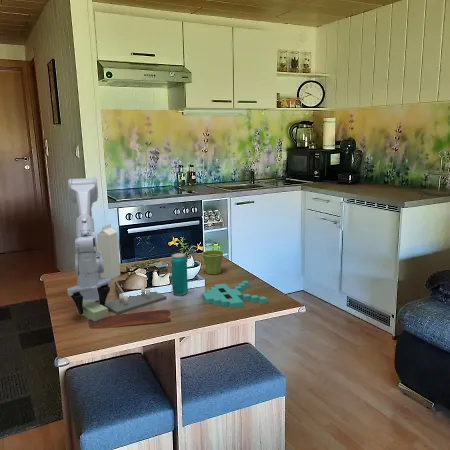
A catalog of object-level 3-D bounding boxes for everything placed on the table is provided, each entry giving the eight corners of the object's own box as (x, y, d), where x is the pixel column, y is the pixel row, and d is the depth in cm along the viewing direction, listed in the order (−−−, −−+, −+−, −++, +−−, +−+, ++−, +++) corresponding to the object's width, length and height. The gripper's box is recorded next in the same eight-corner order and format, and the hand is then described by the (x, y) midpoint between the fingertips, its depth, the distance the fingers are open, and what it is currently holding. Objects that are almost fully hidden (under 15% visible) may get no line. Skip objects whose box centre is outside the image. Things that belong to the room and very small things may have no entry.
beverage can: (183, 289, 174) (182, 252, 171) (190, 294, 169) (189, 255, 166) (169, 292, 171) (168, 254, 168) (176, 297, 166) (175, 258, 163)
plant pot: (208, 277, 187) (208, 257, 185) (198, 271, 195) (198, 252, 194) (228, 273, 192) (227, 254, 190) (217, 268, 200) (217, 249, 198)
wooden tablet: (169, 312, 155) (169, 307, 154) (171, 324, 145) (171, 319, 145) (89, 319, 150) (88, 314, 150) (85, 332, 141) (85, 327, 140)
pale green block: (77, 312, 155) (76, 303, 154) (90, 308, 158) (90, 298, 157) (94, 322, 146) (93, 312, 145) (108, 318, 150) (107, 308, 149)
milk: (100, 278, 189) (95, 226, 185) (108, 273, 195) (104, 223, 190) (112, 279, 187) (108, 227, 182) (120, 274, 193) (116, 224, 188)
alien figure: (246, 286, 178) (197, 292, 172) (246, 280, 177) (197, 287, 171) (266, 304, 159) (212, 312, 153) (266, 298, 159) (212, 306, 153)
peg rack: (102, 306, 159) (102, 295, 158) (151, 292, 172) (150, 282, 171) (117, 314, 152) (116, 303, 151) (166, 299, 165) (165, 288, 164)
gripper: (72, 279, 141) (76, 320, 144) (114, 269, 151) (117, 307, 154) (63, 274, 146) (66, 313, 149) (104, 264, 156) (107, 301, 159)
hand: (91, 310), depth 152 cm, fingers open, 7 cm apart
